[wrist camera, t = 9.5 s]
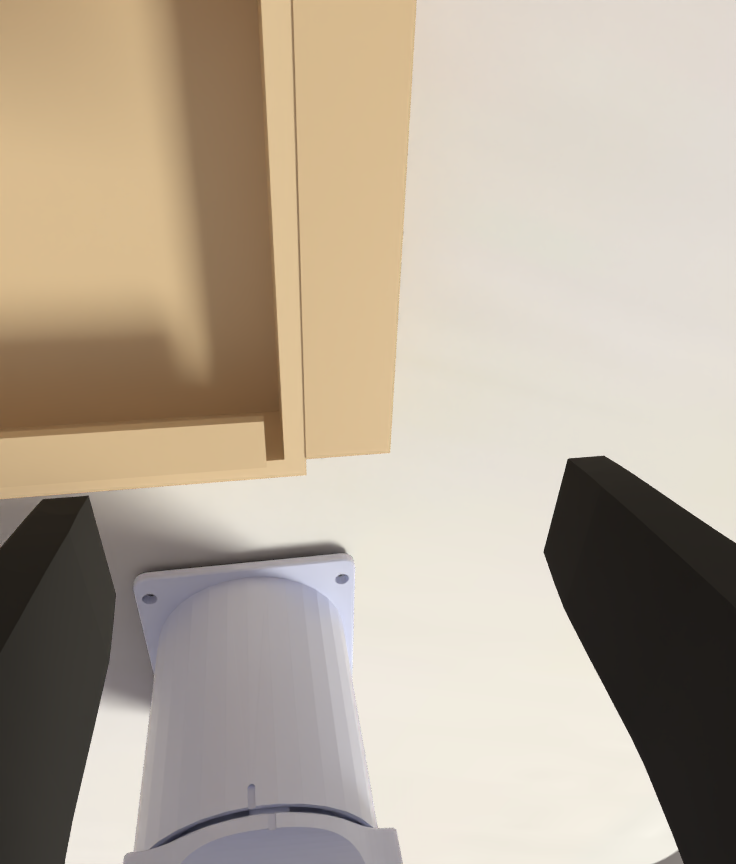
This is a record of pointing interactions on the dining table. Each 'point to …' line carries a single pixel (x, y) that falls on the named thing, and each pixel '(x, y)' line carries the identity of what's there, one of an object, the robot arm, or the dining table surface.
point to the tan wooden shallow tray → (198, 237)
